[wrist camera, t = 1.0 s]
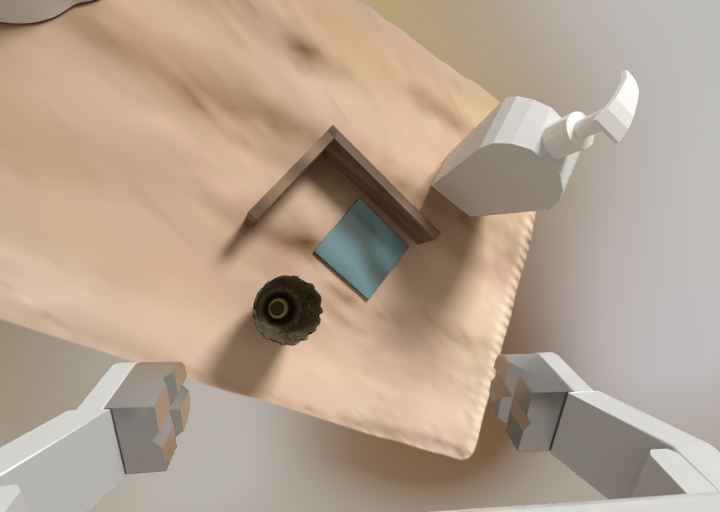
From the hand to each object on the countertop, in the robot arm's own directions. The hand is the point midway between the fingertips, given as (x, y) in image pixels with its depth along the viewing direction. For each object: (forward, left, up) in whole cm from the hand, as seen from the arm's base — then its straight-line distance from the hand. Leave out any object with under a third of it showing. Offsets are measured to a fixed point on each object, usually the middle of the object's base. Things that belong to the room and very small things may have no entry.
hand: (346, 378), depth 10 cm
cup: (-1, +4, -39) cm, 39 cm away
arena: (-12, +12, -39) cm, 43 cm away
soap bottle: (-23, +31, -39) cm, 55 cm away
